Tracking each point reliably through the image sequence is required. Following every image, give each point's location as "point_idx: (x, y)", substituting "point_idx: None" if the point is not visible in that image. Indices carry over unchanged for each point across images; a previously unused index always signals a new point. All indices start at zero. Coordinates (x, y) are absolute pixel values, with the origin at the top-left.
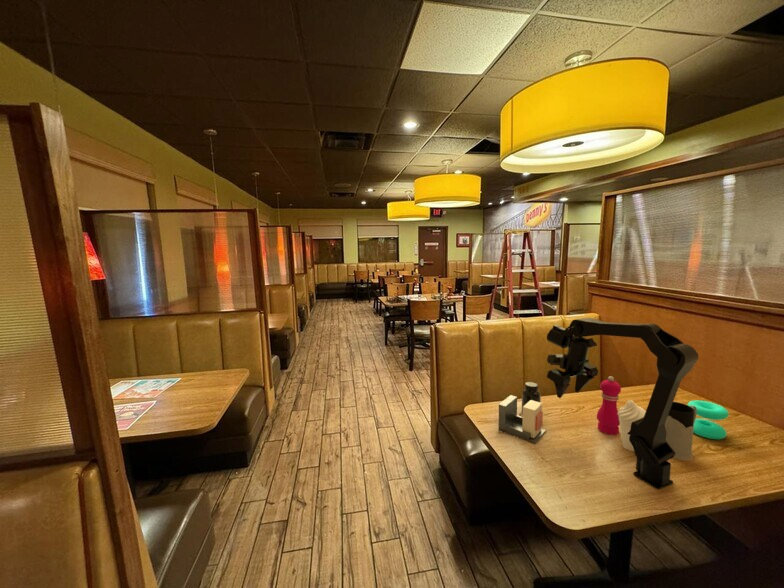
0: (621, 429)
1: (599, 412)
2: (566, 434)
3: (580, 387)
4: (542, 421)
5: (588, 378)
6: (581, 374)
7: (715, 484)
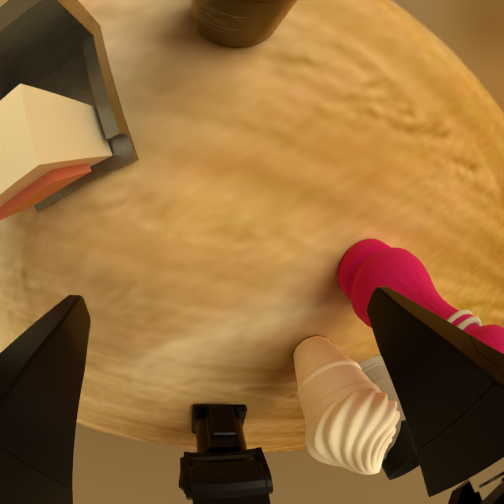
0: (309, 384)
1: (385, 283)
2: (203, 213)
3: (395, 369)
4: (82, 173)
5: (433, 489)
6: (491, 461)
7: (299, 437)
